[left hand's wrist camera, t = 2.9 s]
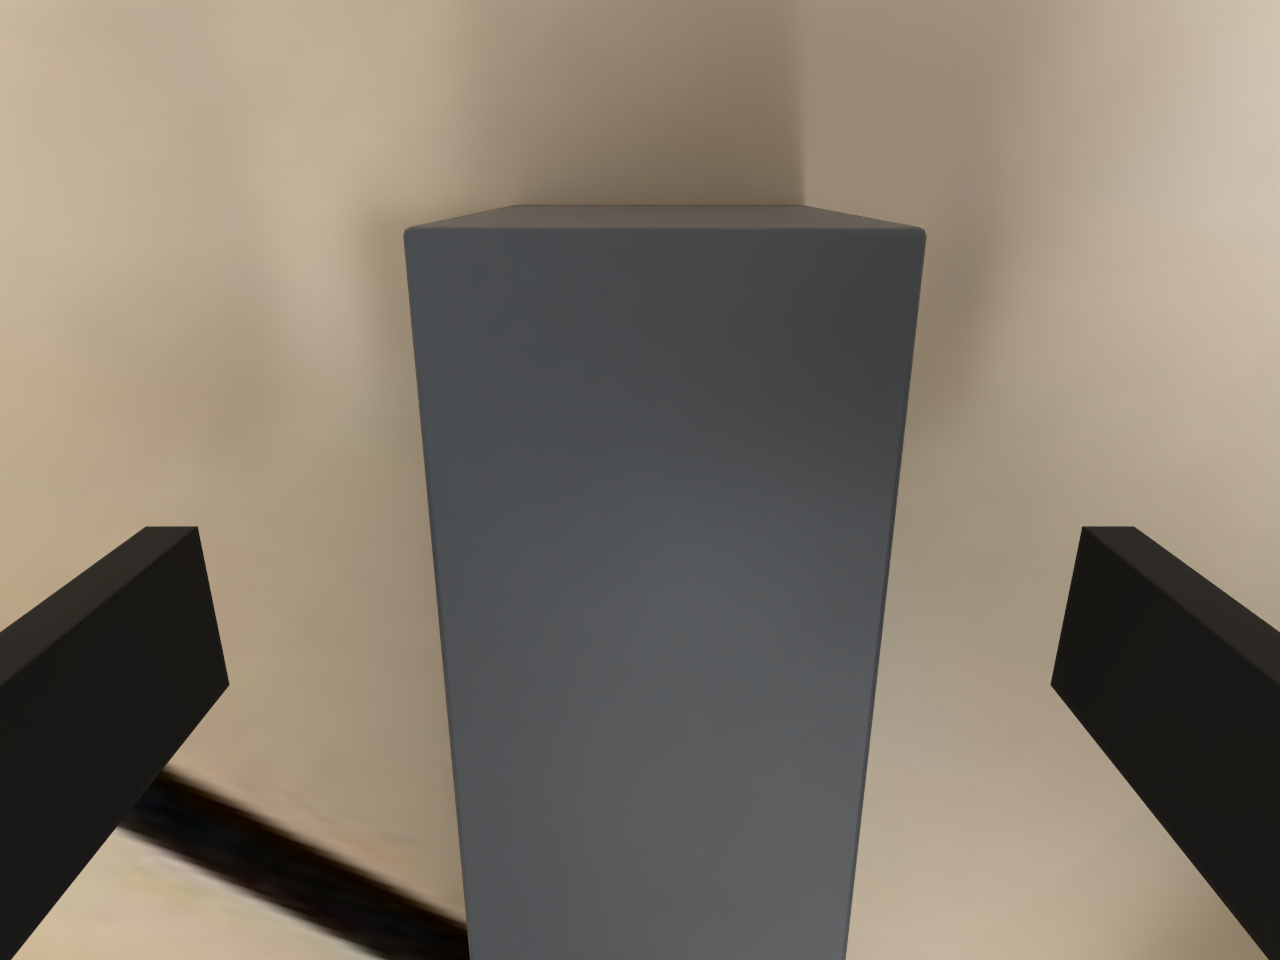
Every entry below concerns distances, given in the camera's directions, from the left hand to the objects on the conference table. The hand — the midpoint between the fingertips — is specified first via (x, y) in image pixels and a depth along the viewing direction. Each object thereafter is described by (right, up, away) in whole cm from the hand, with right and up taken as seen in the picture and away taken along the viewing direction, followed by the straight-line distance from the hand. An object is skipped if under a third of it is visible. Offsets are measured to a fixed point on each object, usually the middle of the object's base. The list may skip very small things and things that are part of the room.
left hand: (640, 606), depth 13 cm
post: (0, -18, +12) cm, 22 cm away
